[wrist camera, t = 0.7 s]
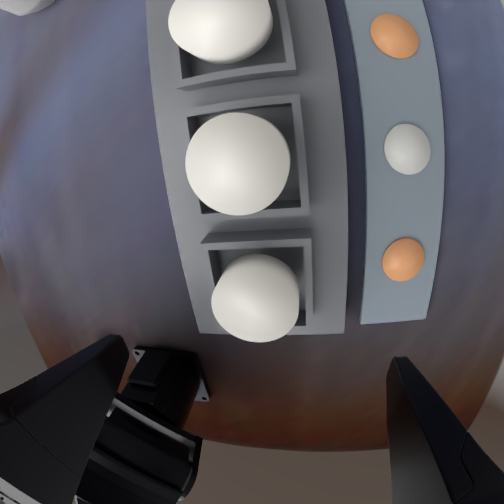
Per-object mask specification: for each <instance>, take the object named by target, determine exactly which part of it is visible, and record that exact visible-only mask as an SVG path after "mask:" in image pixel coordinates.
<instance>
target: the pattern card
mask: <svg viewBox="0 0 504 504" xmlns="http://www.w3.org/2000/svg"><path fill="white" fill-rule="evenodd" d="M343 2H344V6H345V11H346V15H347V20H348V25H349V30H350V35H351V41H352V47H353V53H354V59H355V65H356V72H357V80H358V88H359V96H360V106H361V116H362V128H363V142H364V160H365V196H366V219H365V255H364V274H363V288H362V300H361V311H360V324H373V323H386V322H398V321H409V320H419V319H425V318H426V314H427V310H428V305H429V301H430V296H431V291H432V286H433V281H434V275H435V269H436V263H437V256H438V249H439V242H440V233H441V223H442V212H443V197H444V165H445V156H444V125H443V110H442V99H441V90H440V82H439V75H438V68H437V62H436V56H435V51H434V46H433V41H432V36H431V32H430V27H429V23H428V19H427V15H426V12H425V8H424V4H423V1H422V0H343Z"/></svg>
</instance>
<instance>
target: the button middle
mask: <svg viewBox="0 0 504 504" xmlns="http://www.w3.org/2000/svg"><path fill="white" fill-rule="evenodd" d="M290 163H291V157H290V150H289V147H288V144H287V142H286V139H285V138H284V136H283V134H282V133H281V132H280V131H279V129H278V128H277V127H276V126H274V125H273V124H272V123H270V122H269V121H267V120H265V119H263V118H261V117H258V116H255V115H251V114H246V113H237V112H234V113H226V114H222V115H219V116H216V117H214V118H212V119H210V120H209V121H207V122H206V123H204V124H203V125H202V126H201V127H200V128H199V129H198V130H197V131H196V133H195V134H194V135H193V137H192V139H191V141H190V143H189V145H188V148H187V152H186V158H185V167H186V174H187V178H188V181H189V184H190V186H191V187H192V189H193V191H194V192H195V194H196V195H197V196H198V198H199V199H200V200H201V201H202V202H204V203H205V204H206V205H207V206H209V207H210V208H212V209H214V210H216V211H218V212H221V213H224V214H228V215H249V214H252V213H256V212H258V211H261V210H262V209H264V208H266V207H267V206H269V205H270V204H271V203H272V202H273V201H274V200H275V199H276V198H277V197H278V196H279V195H280V193H281V192H282V190H283V188H284V186H285V184H286V181H287V178H288V174H289V170H290Z"/></svg>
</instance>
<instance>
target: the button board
mask: <svg viewBox="0 0 504 504" xmlns="http://www.w3.org/2000/svg"><path fill="white" fill-rule="evenodd" d="M145 1H146V23H147V39H148V52H149V64H150V74H151V84H152V93H153V102H154V110H155V118H156V125H157V132H158V139H159V146H160V152H161V159H162V165H163V171H164V177H165V182H166V188H167V194H168V199H169V204H170V209H171V215H172V220H173V225H174V229H175V234H176V239H177V244H178V248H179V253H180V257H181V262H182V266H183V270H184V275H185V279H186V283H187V287H188V291H189V295H190V299H191V303H192V307H193V311H194V315H195V319H196V322H197V326H198V330H199V333H209V334H230V333H229V332H227V331H226V330H225V329H224V328H223V327H222V326H221V325H220V324H219V323H218V321H217V320H216V318H215V316H214V314H213V310H212V305H211V299H212V294H213V291H214V289H215V287H216V285H217V283H218V281H219V279H220V278H221V276H222V274H223V272H224V270H225V269H226V267H227V266H228V265H229V264H230V263H231V262H232V261H234V260H235V259H237V258H239V257H241V256H244V255H248V254H265V255H269V256H273V257H275V258H277V259H279V260H281V261H283V262H284V263H285V264H287V265H288V266H289V267H290V268H291V270H292V271H293V272H294V274H295V275H296V277H297V280H298V283H299V288H300V293H299V314H298V318H297V321H296V323H295V325H294V326H293V328H292V329H291V330H290V331H289V332H288V333H287V334H285V335H309V334H337V333H344V325H345V311H346V295H347V271H348V189H347V165H346V149H345V135H344V123H343V113H342V103H341V94H340V86H339V78H338V71H337V64H336V57H335V51H334V45H333V39H332V33H331V28H330V23H329V17H328V12H327V8H326V3H325V0H268V2H269V6H270V9H271V12H272V16H273V29H272V33H271V35H270V38H269V39H268V41H267V42H266V44H265V45H264V46H263V47H262V48H261V49H260V50H259V51H258V52H257V53H255V54H254V55H252V56H251V57H249V58H247V59H245V60H242V61H239V62H236V63H231V64H213V63H209V62H206V61H203V60H201V59H199V58H198V57H196V56H194V55H193V54H191V53H189V52H187V51H186V50H184V49H182V48H181V47H180V46H179V45H178V44H177V43H176V42H175V41H174V40H173V38H172V36H171V34H170V31H169V26H168V18H169V13H170V10H171V7H172V5H173V3H174V2H175V0H145ZM234 112H237V113H246V114H251V115H255V116H258V117H261V118H263V119H265V120H267V121H269V122H270V123H272V124H273V125H274V126H276V127H277V128H278V129H279V131H280V132H281V133H282V134H283V136H284V138H285V139H286V142H287V144H288V147H289V150H290V157H291V163H290V170H289V174H288V178H287V181H286V184H285V186H284V188H283V190H282V192H281V193H280V195H279V196H278V197H277V198H276V199H275V200H274V201H273V202H272V203H271V204H270V205H269V206H267V207H266V208H264V209H262V210H261V211H258V212H256V213H252V214H249V215H228V214H224V213H221V212H218V211H216V210H214V209H212V208H210V207H209V206H207V205H206V204H205V203H204V202H202V201H201V200H200V199H199V198H198V196H197V195H196V194H195V192H194V191H193V189H192V187H191V186H190V184H189V181H188V178H187V174H186V167H185V158H186V152H187V148H188V145H189V143H190V141H191V139H192V137H193V135H194V134H195V133H196V131H197V130H198V129H199V128H200V127H201V126H202V125H203V124H204V123H206V122H207V121H209V120H210V119H212V118H214V117H216V116H219V115H222V114H226V113H234Z"/></svg>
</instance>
